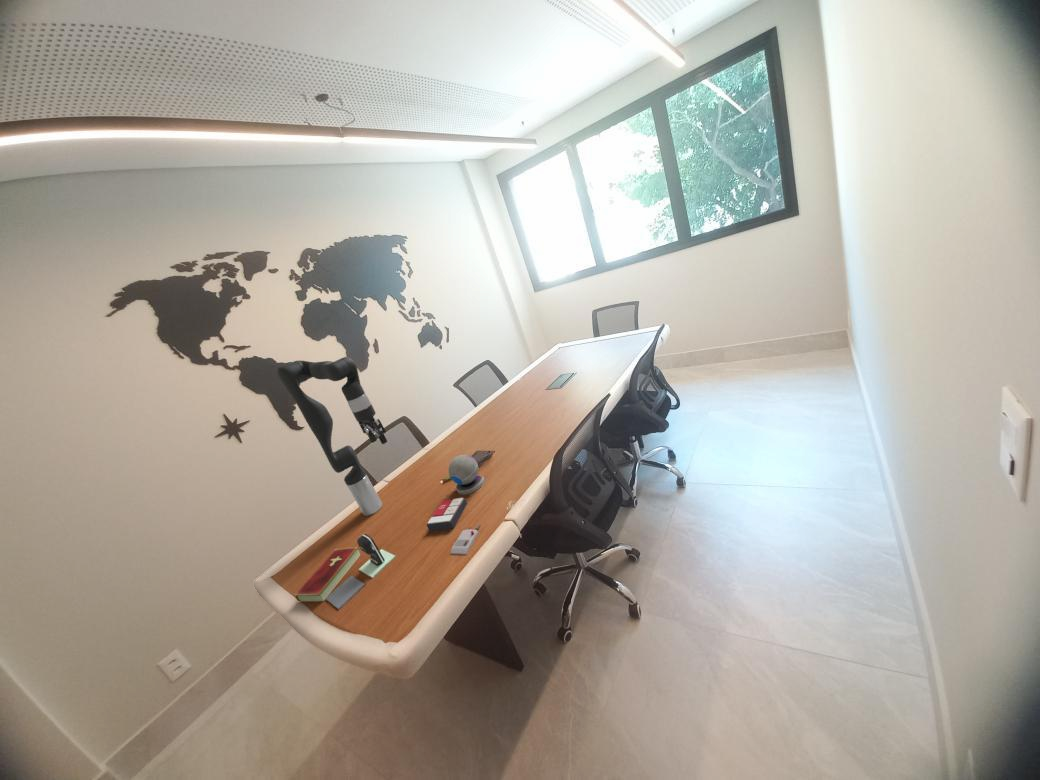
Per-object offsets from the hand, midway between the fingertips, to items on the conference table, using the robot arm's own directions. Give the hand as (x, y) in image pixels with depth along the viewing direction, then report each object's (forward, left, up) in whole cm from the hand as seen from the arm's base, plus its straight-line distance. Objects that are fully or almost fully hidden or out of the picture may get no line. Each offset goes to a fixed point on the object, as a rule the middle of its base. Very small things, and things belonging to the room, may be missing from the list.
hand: (379, 442), depth 152 cm
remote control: (+40, -5, -36) cm, 54 cm away
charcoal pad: (+11, -39, -35) cm, 54 cm away
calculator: (+21, +2, -36) cm, 42 cm away
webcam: (+15, +21, -35) cm, 44 cm away
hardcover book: (-3, -38, -36) cm, 52 cm away
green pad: (+11, -26, -35) cm, 45 cm away
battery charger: (+11, -26, -35) cm, 45 cm away
